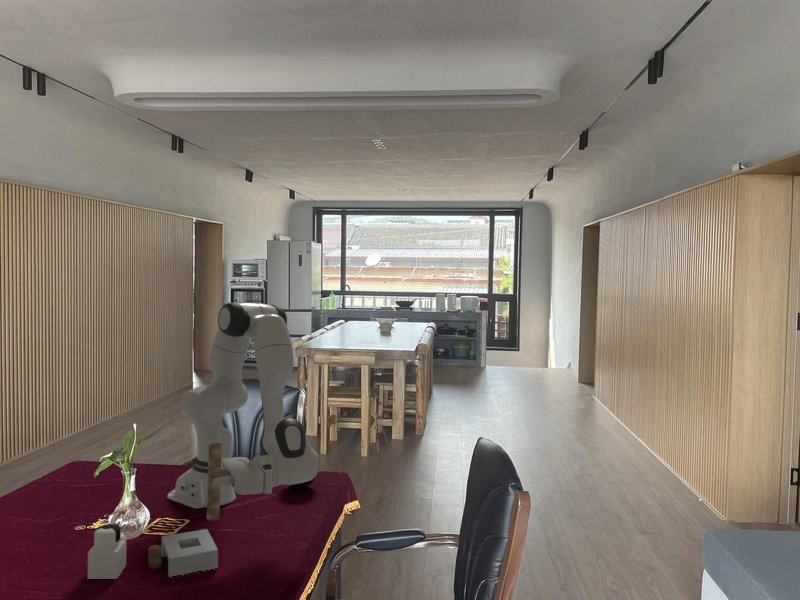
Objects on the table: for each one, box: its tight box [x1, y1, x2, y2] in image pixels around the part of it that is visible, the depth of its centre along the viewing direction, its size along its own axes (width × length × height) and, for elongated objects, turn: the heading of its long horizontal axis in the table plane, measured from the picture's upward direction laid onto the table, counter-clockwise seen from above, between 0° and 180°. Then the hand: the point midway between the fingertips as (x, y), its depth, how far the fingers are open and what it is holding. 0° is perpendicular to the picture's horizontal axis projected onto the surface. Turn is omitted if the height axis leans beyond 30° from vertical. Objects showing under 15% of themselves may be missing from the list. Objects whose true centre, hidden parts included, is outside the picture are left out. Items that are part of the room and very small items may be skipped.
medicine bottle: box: [86, 523, 127, 580], centre depth 162 cm, size 7×7×12 cm
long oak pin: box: [206, 443, 221, 522], centre depth 170 cm, size 3×3×20 cm
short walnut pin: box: [147, 544, 163, 569], centre depth 167 cm, size 3×3×5 cm
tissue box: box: [161, 528, 219, 578], centre depth 170 cm, size 14×12×5 cm
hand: (210, 478), depth 169 cm, fingers closed on long oak pin, 3 cm apart
